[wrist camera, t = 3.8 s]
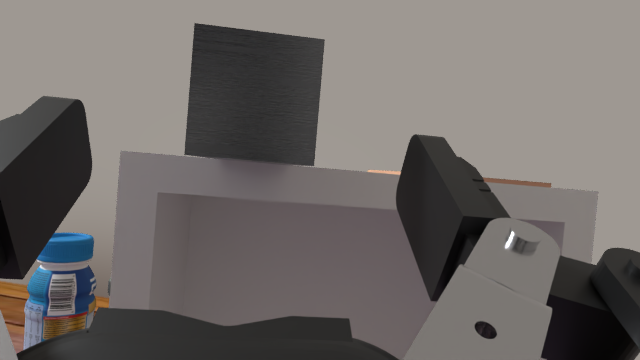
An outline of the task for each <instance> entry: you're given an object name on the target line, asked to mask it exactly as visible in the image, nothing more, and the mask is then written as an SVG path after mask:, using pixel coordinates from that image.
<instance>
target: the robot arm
mask: <svg viewBox="0 0 640 360" xmlns="http://www.w3.org/2000/svg"><path fill="white" fill-rule="evenodd" d="M91 157H92V156H91V149H90V142H89V135H88V128H87V121H86V113H85V109H84V105H83V103H82V102H81V101H80V100H78V99H68V98H59V97H48V96H43V97H41V98H40V99H38V100H37V101H36V102H35V103H34V104H32V105H31V106H30V107H29V108H28V109H26V110H25V111H24V112H23V113H22V114H16V115H15V116H11V117H9V118H6V119H4V120H1V121H0V278H3V279H23V278H24V277H25V275H26V274H27V272H28V271H29V269H30V268H31V266H32V265H33V263H34V262H35V260H36V259H37V258H38V256H39V255H40V253H41V252H42V250H43V249H44V247H45V246H46V244H47V243H48V241H49V240H50V239H51V237H52V236H53V234H54V233H55V231H56V230H57V228H58V227H59V225H60V224H61V222H62V221H63V219H64V218H65V217H66V215H67V213H68V212H69V211H70V209H71V208H72V206H73V205H74V203H75V202H76V200H77V199H78V197H79V196H80V194H81V193H82V191H83V190H84V189H85V187H86V186H87V184H88V182H89V179H90V176H91V170H92V158H91ZM396 207H397V211H398V213H399V216H400V219H401V222H402V224H403V227H404V230H405V233H406V235H407V238H408V241H409V243H410V246H411V249H412V252H413V254H414V257H415V260H416V263H417V265H418V268H419V271H420V274H421V276H422V279H423V282H424V284H425V287H426V290H427V293H428V295H429V298H430V301H435V302H437V303H436V305H435V306H434V308H433V310H432V311H431V313H430V315H429V316H428V318H427V320H426V321H425V323H424V325H423V326H422V328H421V330H420V331H419V333H418V335H417V336H416V338H415V340H414V341H413V343H412V345H411V346H410V348H409V350H408V351H407V353H406V355H405V356H404V358H403V360H540V358H544V359H547V360H634V359H635V358H636V356H637V355H638V354H639V353H640V253H639V252H636V251H633V250H629V249H624V248H611V249H608V250H606V251H605V252H604V254H603V255H602V257H601V259H600V260H599V262H598V263H597V265H593V264H589V263H586V262H582V261H579V260H575V259H571V258H568V257H564V256H561V255H560V249H559V247H558V245H557V243H556V242H555V241H554V240H553V238H552V237H551V236H549V235H548V234H547V233H546V232H544V231H543V230H541V229H540V228H538V227H536V226H534V225H532V224H530V223H527V222H524V221H521V220H518V219H513V218H511V217H510V216H509V214H508V213H507V211H506V210H505V208H504V207H503V206H502V204H501V203H500V201H499V200H498V199H497V197H496V196H495V194H494V193H493V192H491V189H490V187H489V186H488V185H487V183H486V182H484V179H483V178H482V176H481V175H480V173H479V172H478V171H477V169H476V168H475V167H473V166H472V165H471V164H469V163H468V162H467V161H465V160H464V159H462V158H461V157H457V156H456V155H455V153H454V152H453V150H452V149H451V147H450V146H449V144H448V143H447V141H446V140H445V138H443V137H436V136H426V135H413V136H412V138H411V140H410V142H409V145H408V149H407V152H406V156H405V160H404V163H403V167H402V170H401V174H400V178H399V181H398V185H397V190H396ZM0 360H399V359H398V358H396V357H394V356H393V355H391V354H390V353H388V352H387V351H385V350H383V349H381V348H379V347H377V346H375V345H372V344H370V343H367V342H365V341H362V340H359V339H355V338H352V333H351V326H350V320H349V318H328V317H305V316H287V317H282V318H276V319H270V320H264V321H258V322H252V323H246V324H240V325H234V326H223V325H218V324H214V323H210V322H206V321H203V320H199V319H195V318H191V317H187V316H183V315H179V314H176V313H172V312H168V311H164V310H143V309H120V308H98V310H97V312H96V314H95V316H94V319H93V321H92V323H91V325H90V327H89V328H86V329H80V330H76V331H72V332H68V333H65V334H61V335H58V336H56V337H53V338H50V339H47V340H44V341H42V342H40V343H38V344H35V345H33V346H31V347H29V348H27V349H25V350H23V351H21V352H19V353H17V354H16V352H15V350H14V347H13V344H12V341H11V338H10V336H9V333H8V330H7V327H6V325H5V322H4V319H3V316H2V313H1V311H0Z"/></svg>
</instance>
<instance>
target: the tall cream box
mask: <svg viewBox="0 0 640 360" xmlns="http://www.w3.org/2000/svg"><path fill="white" fill-rule="evenodd" d="M120 154H121V155H120V166H119V180H118V193H117V206H116V220H115V234H114V246H113V261H112V274H111V287H110V300H109V308H120V309H143V310H164V311H168V312H172V313H176V314H179V315H183V316H187V317H191V318H195V319H199V320H203V321H206V322H210V323H214V324H218V325H223V326H234V325H240V324H246V323H252V322H258V321H264V320H270V319H276V318H282V317H287V316H305V317H328V318H349V320H350V326H351V333H352V338H355V339H359V340H362V341H365V342H367V343H370V344H372V345H375V346H377V347H379V348H381V349H383V350H385V351H387V352H388V353H390V354H391V355H393V356H394V357H396V358H398V359H399V360H403V358H404V356H405V355H406V353H407V351H408V350H409V348H410V346H411V345H412V343H413V341H414V340H415V338H416V336H417V335H418V333H419V331H420V330H421V328H422V326H423V325H424V323H425V321H426V320H427V318H428V316H429V315H430V313H431V311H432V310H433V308H434V306H435V305H436V303H437V302H435V301H430V298H429V295H428V293H427V290H426V287H425V284H424V282H423V279H422V276H421V274H420V271H419V268H418V265H417V263H416V260H415V257H414V254H413V252H412V249H411V246H410V243H409V241H408V238H407V235H406V233H405V230H404V227H403V224H402V222H401V219H400V216H399V213H398V211H397V207H396V190H397V185H398V181H399V178H400V174H401V171H400V172H399V171H380V170H368V172H362V171H350V170H338V169H327V168H315V167H303V166H292V165H280V164H268V163H257V162H245V161H233V160H222V159H210V158H198V157H186V156H175V155H163V154H151V153H139V152H128V151H121V153H120ZM482 178H483V177H482ZM483 179H484V182H486V183H487V185H488V186H489V187H490V189H491V192H493V193H494V194H495V196H496V197H497V199H498V200H499V201H500V203H501V204H502V206H503V207H504V208H505V210H506V211H507V213H508V214H509V216H510V217H511V218H513V219H518V220H521V221H524V222H527V223H530V224H532V225H534V226H536V227H538V228H540V229H541V230H543V231H544V232H546V233H547V234H548V235H549V236H551V237H552V238H553V240H554V241H555V242H556V243H557V245H558V247H559V249H560V255H561V256H564V257H568V258H571V259H575V260H579V261H582V262H586V263H589V264H591V261H592V251H593V241H594V240H593V239H594V230H595V220H596V210H597V200H598V192H596V191H585V190H573V189H561V188H551V183H541V182H528V181H518V180H506V179H493V178H483ZM540 360H547V359H544V358H540Z"/></svg>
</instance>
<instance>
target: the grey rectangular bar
mask: <svg viewBox="0 0 640 360" xmlns="http://www.w3.org/2000/svg"><path fill="white" fill-rule="evenodd" d="M324 41H325V40H324V39H316V38H308V37H300V36H292V35H284V34H276V33H268V32H260V31H252V30H244V29H236V28H228V27H220V26H212V25H205V24H196V23H195V26H194V39H193V52H192V64H191V77H190V90H189V91H190V92H189V103H188V116H187V129H186V141H185V155H191V156H199V157H206V158H213V159H222V160H233V161H245V162H257V163H268V164H280V165H301V166H304V165H305V166H314V159H315V147H316V135H317V123H318V112H319V98H320V88H321V76H322V64H323V52H324Z"/></svg>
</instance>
